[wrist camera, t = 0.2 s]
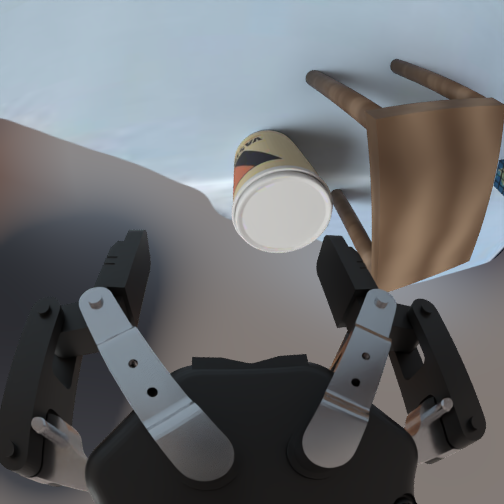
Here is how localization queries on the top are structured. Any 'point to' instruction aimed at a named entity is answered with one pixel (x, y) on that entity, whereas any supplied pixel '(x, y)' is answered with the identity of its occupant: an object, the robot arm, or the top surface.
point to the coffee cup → (277, 194)
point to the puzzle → (500, 177)
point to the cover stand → (421, 175)
